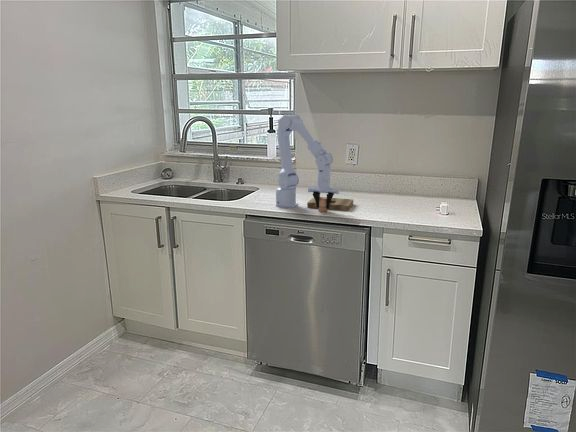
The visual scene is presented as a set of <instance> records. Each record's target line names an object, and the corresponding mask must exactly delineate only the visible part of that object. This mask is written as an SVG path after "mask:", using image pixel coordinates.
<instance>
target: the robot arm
mask: <svg viewBox="0 0 576 432" xmlns="http://www.w3.org/2000/svg"><path fill="white" fill-rule="evenodd" d="M277 122H278V123H277V124H278V125H277V131H276V135H277V136H276V137H277V143H278V151H279V158H280V164H281V165H280V166H281V170H280V171H279V172H278V181H277V183H278V186H279V187H277V188H276V192H275V207H278V208H280V207H281V208H290V209H292V208H295V207H296V206H298V205H299V203H297V202H296V201H297V195H296V193H297V185H298V184H299V182H300V181H299V180H300V179H299V176H298V174H297V170H296V169H295V168H294V166H293V158H292V150H291V144H290V143H291V141H290V135H291V133H292V132H293V131H294V132H297V133H298V135H300V137H301V138H302V139H303V141H305V142H306V144H307V149H308V151H309V152H310V153H311V155H312V156H313V157H314V158H315V160H314V161H315V164H316V167H317V187H310V186H309V187H307V192H308V193H312V196H313V197H312V198H314V199H315V201H316V205H317V208H316V209H319V198H320V197H321V193H322V194H326V197H327V210H330V209H329V206H330V202H331V199H332V198H334V196H335V195H339V194H340V189H339V188H330V187H331V165H332V164H333V161H334V158H333V154H332V153H331V152H328V151H327V149H325V148H324V147H323V146H322V142H321V141H320V140H318V139H314V138H313V136H312V134H311V133H310V132H309V130H308V129H307V127H306V125H305V124H304V121H303V119H302V118H301V117H300V116H299V115H298V114H297V113H296V114H283V115H281V116H280V117H279V119H278V121H277Z"/></svg>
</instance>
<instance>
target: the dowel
mask: <svg viewBox="0 0 576 432" xmlns="http://www.w3.org/2000/svg"><path fill="white" fill-rule="evenodd" d="M318 212H320V213H327V212H328V209H327V198H319V208H318Z"/></svg>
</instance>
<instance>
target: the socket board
mask: <svg viewBox="0 0 576 432" xmlns="http://www.w3.org/2000/svg"><path fill="white" fill-rule="evenodd" d="M320 198H327V196H326V197H325V196H324V197H323V196H320ZM353 205H354V198H353V199H352V198H350V199H349V198H339V197H337V198H336V197H332V199H331V202H330V206H329V209H328V210H334V211H342V212H344V211H346V212H348V211H349V210H350V209H351V208H352V206H353ZM306 207H307V208H310V209H318V208H317V205H316V201H315V199H314V197H312V198H311V199H309V200H308V201H307V205H306Z"/></svg>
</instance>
